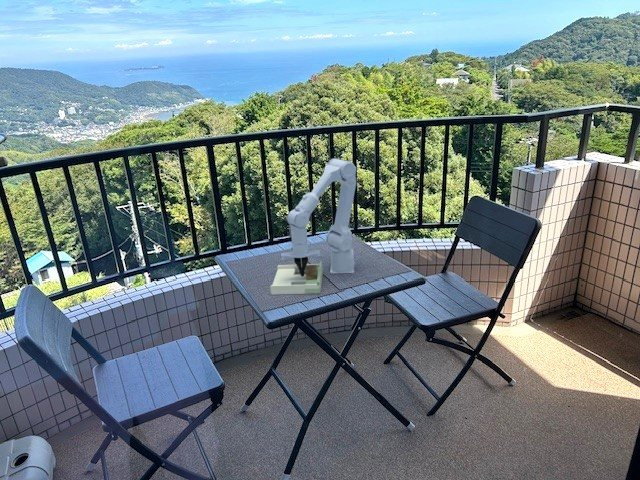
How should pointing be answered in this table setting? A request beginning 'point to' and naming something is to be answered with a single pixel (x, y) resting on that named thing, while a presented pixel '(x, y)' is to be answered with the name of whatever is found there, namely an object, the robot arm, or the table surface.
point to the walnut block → (311, 272)
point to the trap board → (295, 281)
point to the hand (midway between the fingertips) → (302, 274)
